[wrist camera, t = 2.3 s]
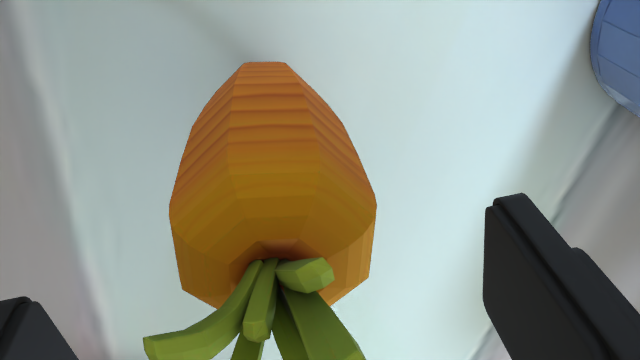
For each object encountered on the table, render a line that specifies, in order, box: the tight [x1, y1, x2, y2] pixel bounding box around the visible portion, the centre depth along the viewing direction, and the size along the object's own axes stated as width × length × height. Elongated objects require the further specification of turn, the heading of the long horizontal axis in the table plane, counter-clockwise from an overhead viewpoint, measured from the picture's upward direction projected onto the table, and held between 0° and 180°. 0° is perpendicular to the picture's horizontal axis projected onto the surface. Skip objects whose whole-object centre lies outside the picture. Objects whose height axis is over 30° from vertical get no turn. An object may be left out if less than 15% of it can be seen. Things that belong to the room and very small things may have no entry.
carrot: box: [143, 62, 377, 360], centre depth 14 cm, size 5×5×15 cm
